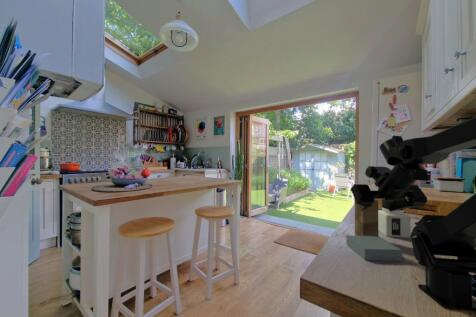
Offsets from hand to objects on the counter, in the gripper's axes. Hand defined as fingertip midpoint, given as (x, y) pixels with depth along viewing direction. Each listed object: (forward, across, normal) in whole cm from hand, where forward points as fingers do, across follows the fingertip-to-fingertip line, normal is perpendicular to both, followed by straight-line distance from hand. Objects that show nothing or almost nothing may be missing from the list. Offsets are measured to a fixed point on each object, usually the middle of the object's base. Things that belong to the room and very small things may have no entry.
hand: (374, 209), depth 66 cm
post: (+11, 0, +5) cm, 12 cm away
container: (+16, -14, 0) cm, 21 cm away
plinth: (+4, +4, +12) cm, 13 cm away
